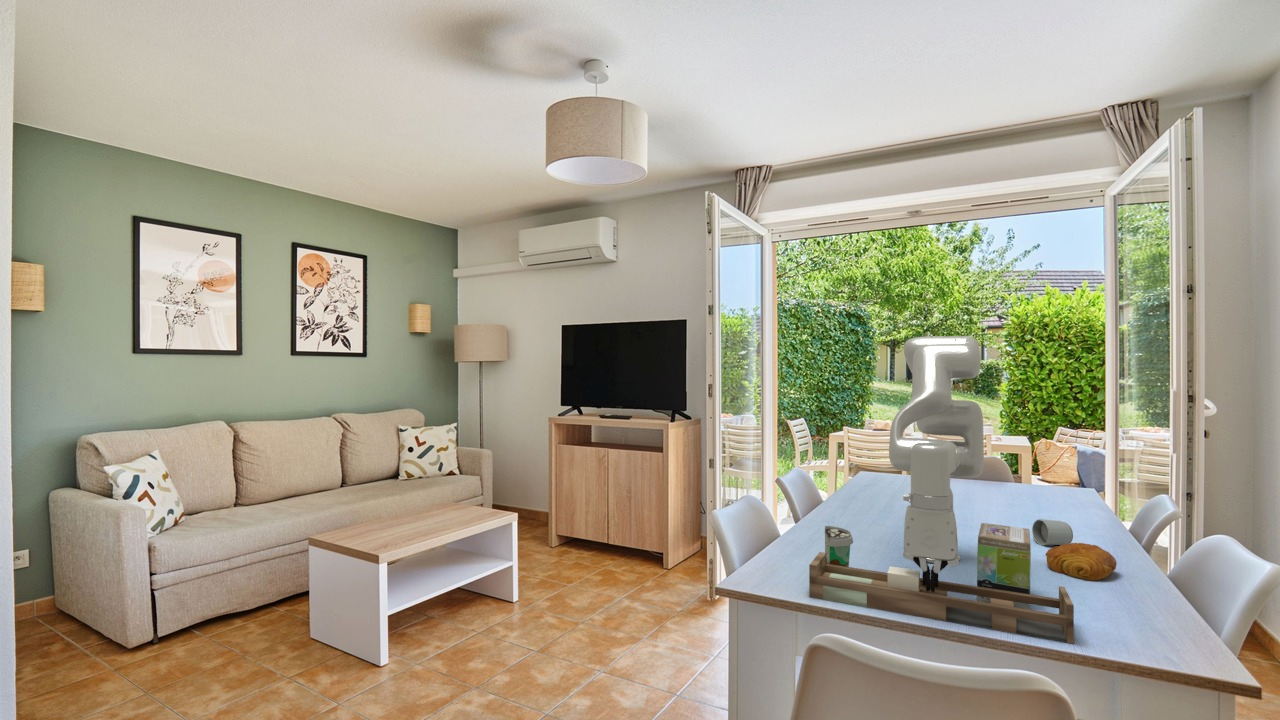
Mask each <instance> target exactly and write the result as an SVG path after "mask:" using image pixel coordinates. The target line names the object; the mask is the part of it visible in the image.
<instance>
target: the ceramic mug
mask: <svg viewBox="0 0 1280 720" xmlns="http://www.w3.org/2000/svg"><path fill="white" fill-rule="evenodd" d="M1031 533H1032V538H1033V539H1034V541H1035V542H1036V543H1037V544H1038V545H1039V544H1040V545H1039V546H1042V545H1043V546H1044V547H1045V546H1048V547H1052V546H1054V545H1063V544H1071V543H1072V541H1073V538H1074V533H1073V530H1072V527H1071V526H1070V525H1069V524H1068V523H1067V522H1065V521H1062V520H1056V519H1055V520H1052V519H1043V518H1042V519H1041V518H1039V519H1036V520H1035V521H1034V522H1033V524H1032V527H1031ZM1054 547H1055V546H1054Z"/></svg>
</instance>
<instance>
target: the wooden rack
mask: <svg viewBox="0 0 1280 720" xmlns="http://www.w3.org/2000/svg"><path fill="white" fill-rule="evenodd" d="M808 569H809V571H808V572H809V573H808V574H809V575H808V579H809V580H808V582H809V585H808V586H809V587H808V589H809V592H808V593H809V595H808V596H809V597H808V598H813V599H818V600H824V601H825V600H826V601H832V602H836V603H842V604H848V605H854V606H858V607H863V608H869V609H870V608H871V609H874V610H875V609H876V610H882V611H887V612H891V613H892V612H893V613H898V614H904V615H910V616H915V617H920V618H926V619H932V620H938V621H944V622H949V623H955V624H960V625H966V626H971V627H977V628H983V629H988V630H994V631H1001V632H1005V633H1009V634H1010V633H1011V634H1015V635H1022V636H1026V637H1033V638H1039V639H1043V640H1044V639H1045V640H1049V641H1053V642H1054V641H1055V642H1060V643H1061V642H1062V643H1066V644H1072V645H1074V644H1075V623H1074V622H1075V621H1074V620H1075V618H1074V617H1075V616H1074V615H1075V614H1074V613H1075V609H1074V608H1075V607H1074V604H1073V601H1072V599H1071V597H1070V594H1069V593H1068V591H1067V589H1066V587H1065V586H1060V585H1058V598H1057V597H1050V596H1043V595H1036V594H1031V593H1030V594H1024V593H1018V592H1011V591H1004V590H998V589H991V588H984V587H978V586H977V585H970V584H964V583H957V582H950V581H944V580H938V587H935V592H932V591H931V578H930V591H926V586H925V585H923V577H920V591H919V592H917V591H911V590H905V589H899V588H892V587H888V572H884V571H876V570H870V569H863V568H857V567H852V566H851V567H850V566H849V567H845V566H838V565H832V564H826V553H825V552H821V551H820V552H819V553H818V554H817V555H815V558H814V559H813V560H812V561H811V562H810V564H809V567H808ZM948 592H949V593H950V592H952V593H957V594H962V595H963V594H964V595H970V596H976V597H977V596H982V597H988V598H990V603H986V602H980V601H977V600H973V599H967V598H960V597H954V596H948ZM1013 601H1014V602H1020V603H1026V604H1030V605H1034V606H1041V607H1047V608H1051V609H1052V608H1053V609H1058V613H1053V612H1047V611H1041V610H1035V609H1030V610H1029V609H1023V608H1017V607H1014V605H1013Z"/></svg>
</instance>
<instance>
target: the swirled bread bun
mask: <svg viewBox="0 0 1280 720" xmlns="http://www.w3.org/2000/svg"><path fill="white" fill-rule="evenodd" d="M1045 556H1046V557H1045V559H1046V565H1047V566H1048V568H1050V569H1051V570H1052V571H1053V572H1055V573H1057V574H1060V573H1061V575H1067V576H1069V577H1074V578H1077V579H1081V580H1085V581H1092V582H1096V581H1099V580H1103V579H1106V578H1108V577H1109V576H1110V575H1111V574H1112V573H1113V572H1114V571H1115V570H1116V569H1117V560H1116V557H1114V556H1113V555H1112V554H1111V552H1108V551H1106V550H1105V549H1103V548H1102V547H1100V546H1098V545H1096V544H1088V543H1084V542H1073V543H1072V542H1071V543H1070V544H1063V545H1060V546H1054V547H1051V548H1049V549H1048V550H1047V551H1046V553H1045Z"/></svg>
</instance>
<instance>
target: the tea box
mask: <svg viewBox="0 0 1280 720" xmlns="http://www.w3.org/2000/svg"><path fill="white" fill-rule="evenodd" d="M1031 550H1032V549H1031V534H1030V529H1029V528H1025V527H1018V526H1009V525H1001V524H994V523H988V522H987V523H984V522H981V523H980V528H979V532H978V536H977V558H976V559H977V567H976V568H977V569H976V570H977V571H976V572H977V573H976V574H977V575H976V586H978V587H984V588H991V589H998V590H1004V591H1011V592H1018V593H1024V594H1031V567H1032V565H1031V563H1032V562H1031V557H1032V556H1031V555H1032V554H1031V553H1032V551H1031ZM976 601H980V602H986V603H990V598H988V597H982V596H976ZM1013 605H1014V607H1017V608H1023V609H1029V610H1031V609H1030V606H1031V604H1026V603H1020V602H1014V601H1013Z"/></svg>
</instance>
